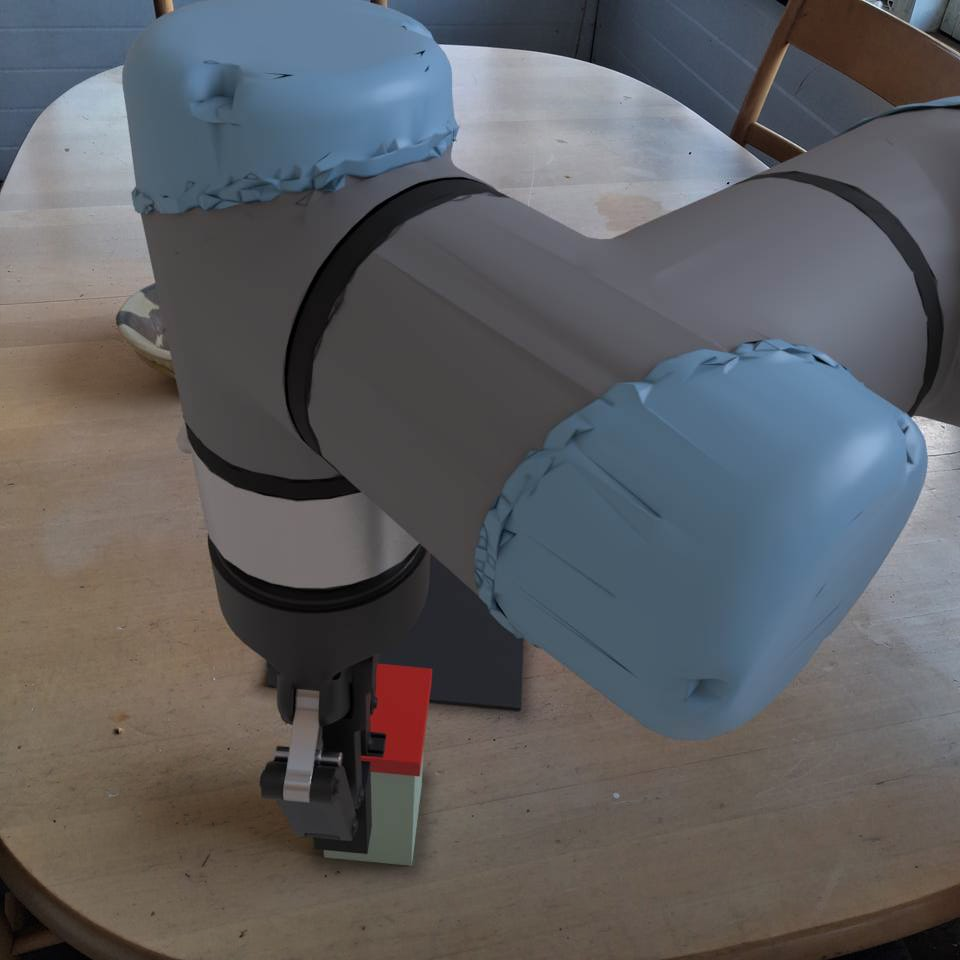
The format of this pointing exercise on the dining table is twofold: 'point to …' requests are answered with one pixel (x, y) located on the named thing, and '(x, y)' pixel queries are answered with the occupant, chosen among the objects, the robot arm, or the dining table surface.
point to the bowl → (146, 329)
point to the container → (396, 764)
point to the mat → (460, 647)
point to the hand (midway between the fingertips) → (343, 837)
